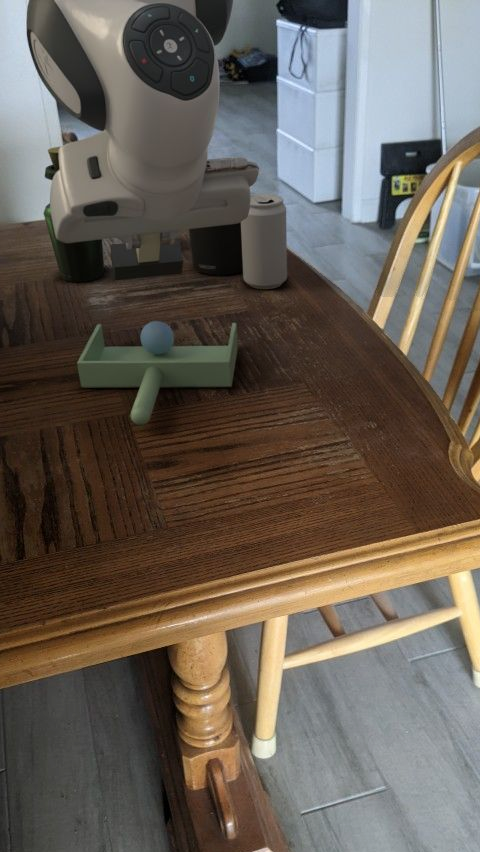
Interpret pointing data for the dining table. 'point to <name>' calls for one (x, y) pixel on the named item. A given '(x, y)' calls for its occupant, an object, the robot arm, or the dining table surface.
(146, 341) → the foam ball
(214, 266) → the pen holder
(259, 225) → the beverage can
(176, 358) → the dustpan
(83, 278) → the potion bottle
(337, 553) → the dining table surface
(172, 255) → the brush
